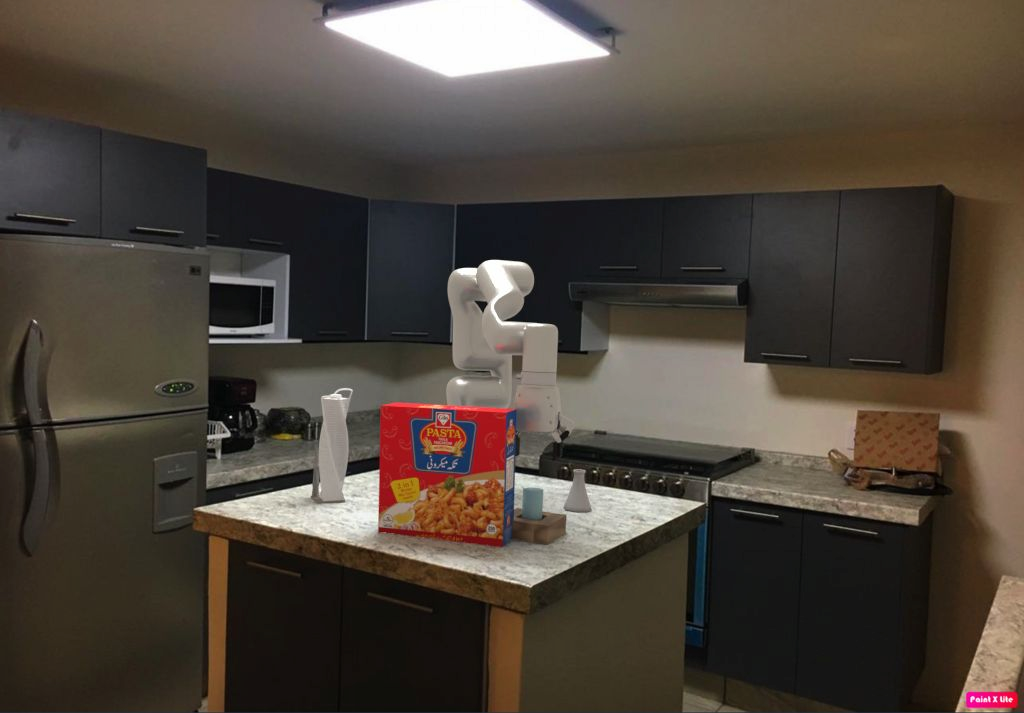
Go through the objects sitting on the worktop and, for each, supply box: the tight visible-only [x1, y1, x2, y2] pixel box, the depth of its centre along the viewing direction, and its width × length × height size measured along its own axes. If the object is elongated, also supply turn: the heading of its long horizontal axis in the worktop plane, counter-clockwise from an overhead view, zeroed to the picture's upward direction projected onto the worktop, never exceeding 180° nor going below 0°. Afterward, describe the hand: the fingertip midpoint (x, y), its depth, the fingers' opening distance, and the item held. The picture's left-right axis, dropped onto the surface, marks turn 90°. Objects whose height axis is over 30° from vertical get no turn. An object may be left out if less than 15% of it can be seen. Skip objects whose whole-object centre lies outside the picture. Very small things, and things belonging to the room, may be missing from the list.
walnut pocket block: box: [512, 507, 567, 545], centre depth 186 cm, size 12×12×4 cm
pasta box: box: [377, 402, 517, 548], centre depth 182 cm, size 28×8×28 cm, turn 74°
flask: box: [563, 468, 592, 513], centre depth 213 cm, size 7×7×10 cm
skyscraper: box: [310, 387, 354, 504], centre depth 210 cm, size 8×8×28 cm
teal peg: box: [521, 487, 544, 521], centre depth 186 cm, size 4×4×10 cm
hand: (535, 458), depth 185 cm, fingers open, 9 cm apart
